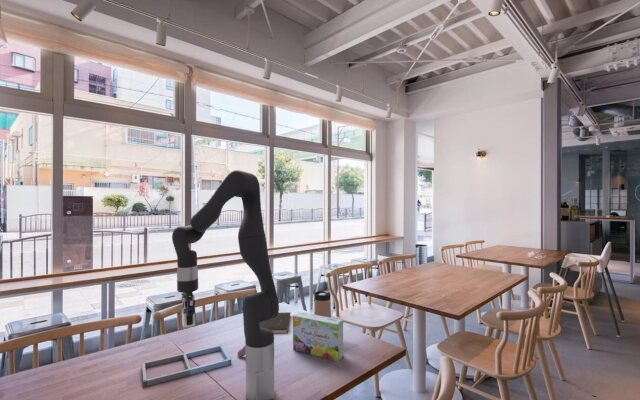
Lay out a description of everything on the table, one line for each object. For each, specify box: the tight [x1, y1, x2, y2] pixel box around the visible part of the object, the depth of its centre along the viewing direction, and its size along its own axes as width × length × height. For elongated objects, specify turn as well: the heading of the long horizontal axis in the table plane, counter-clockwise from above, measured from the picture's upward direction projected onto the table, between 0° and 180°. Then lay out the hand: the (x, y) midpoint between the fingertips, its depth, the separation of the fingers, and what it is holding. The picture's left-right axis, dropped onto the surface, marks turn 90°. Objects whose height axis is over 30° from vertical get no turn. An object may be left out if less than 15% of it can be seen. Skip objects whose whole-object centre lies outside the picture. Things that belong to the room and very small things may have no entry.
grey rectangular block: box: [181, 308, 196, 328], centre depth 127 cm, size 4×4×6 cm
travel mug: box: [313, 290, 332, 318], centre depth 153 cm, size 8×8×20 cm
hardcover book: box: [259, 311, 292, 334], centre depth 169 cm, size 16×23×2 cm
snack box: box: [292, 311, 344, 362], centre depth 137 cm, size 21×6×15 cm, turn 62°
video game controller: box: [237, 345, 246, 358], centre depth 139 cm, size 10×5×7 cm, turn 169°
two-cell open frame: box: [141, 344, 232, 388], centre depth 128 cm, size 15×30×2 cm, turn 120°
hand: (188, 322), depth 127 cm, fingers closed on grey rectangular block, 4 cm apart
